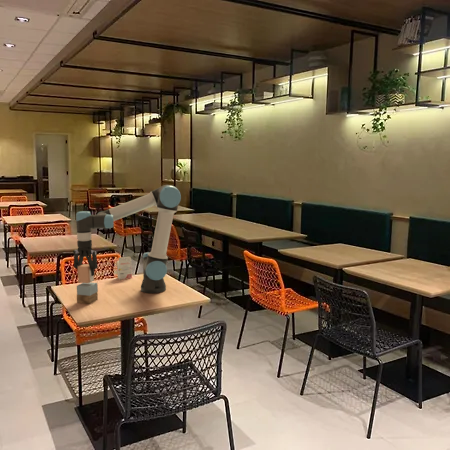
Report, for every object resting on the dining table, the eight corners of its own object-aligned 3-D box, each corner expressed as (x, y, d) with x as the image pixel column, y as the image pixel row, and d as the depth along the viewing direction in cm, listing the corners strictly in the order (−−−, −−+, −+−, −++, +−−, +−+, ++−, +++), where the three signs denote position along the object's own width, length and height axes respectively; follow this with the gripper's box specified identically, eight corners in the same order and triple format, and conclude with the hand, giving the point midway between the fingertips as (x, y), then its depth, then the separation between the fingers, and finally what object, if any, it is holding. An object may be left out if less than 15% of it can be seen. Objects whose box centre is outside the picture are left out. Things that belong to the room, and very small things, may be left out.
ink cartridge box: (129, 276, 303) (129, 255, 301) (131, 278, 299) (131, 256, 297) (117, 277, 299) (116, 256, 297) (119, 279, 295) (118, 257, 293)
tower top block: (97, 291, 252) (97, 282, 251) (90, 295, 244) (89, 286, 243) (85, 290, 254) (84, 281, 253) (77, 294, 246) (76, 285, 245)
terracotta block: (94, 280, 250) (93, 264, 248) (88, 283, 244) (87, 267, 243) (84, 279, 251) (83, 264, 250) (78, 282, 246) (77, 266, 244)
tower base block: (97, 300, 252) (97, 291, 252) (89, 304, 245) (89, 295, 244) (85, 299, 255) (84, 290, 254) (77, 303, 247) (76, 294, 246)
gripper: (103, 239, 245) (105, 280, 249) (73, 237, 250) (75, 277, 254) (96, 241, 238) (97, 284, 242) (65, 240, 243) (67, 281, 247)
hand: (86, 280), depth 248 cm, fingers closed on terracotta block, 6 cm apart
